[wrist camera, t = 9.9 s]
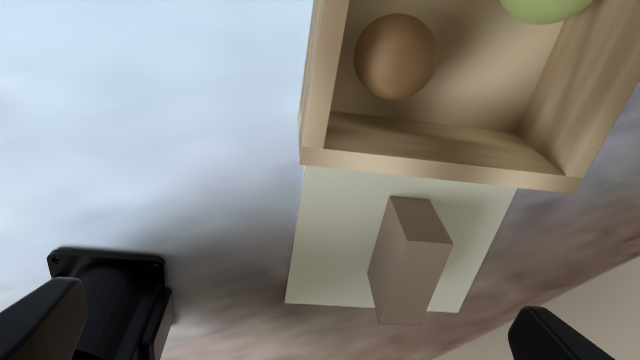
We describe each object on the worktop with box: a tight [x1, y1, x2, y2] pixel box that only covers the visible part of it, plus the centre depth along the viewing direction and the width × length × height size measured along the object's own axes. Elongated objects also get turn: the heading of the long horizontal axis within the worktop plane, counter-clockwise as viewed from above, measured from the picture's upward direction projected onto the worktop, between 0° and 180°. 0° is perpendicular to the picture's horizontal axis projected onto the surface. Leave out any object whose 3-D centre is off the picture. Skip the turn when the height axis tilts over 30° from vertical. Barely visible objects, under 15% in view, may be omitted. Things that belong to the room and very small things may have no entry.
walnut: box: [354, 13, 438, 100], centre depth 16 cm, size 3×3×3 cm
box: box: [298, 0, 640, 194], centre depth 15 cm, size 12×12×5 cm
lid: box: [285, 165, 518, 326], centre depth 22 cm, size 12×12×5 cm
